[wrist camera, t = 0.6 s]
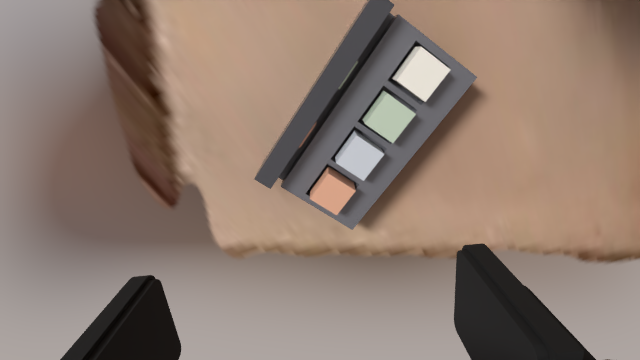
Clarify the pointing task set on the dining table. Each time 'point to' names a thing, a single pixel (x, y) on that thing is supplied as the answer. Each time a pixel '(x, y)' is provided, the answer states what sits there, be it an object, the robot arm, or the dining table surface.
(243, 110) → the dining table surface
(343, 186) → the key terracotta
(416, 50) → the key cream
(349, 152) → the key slate
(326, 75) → the keypad
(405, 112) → the key sage
